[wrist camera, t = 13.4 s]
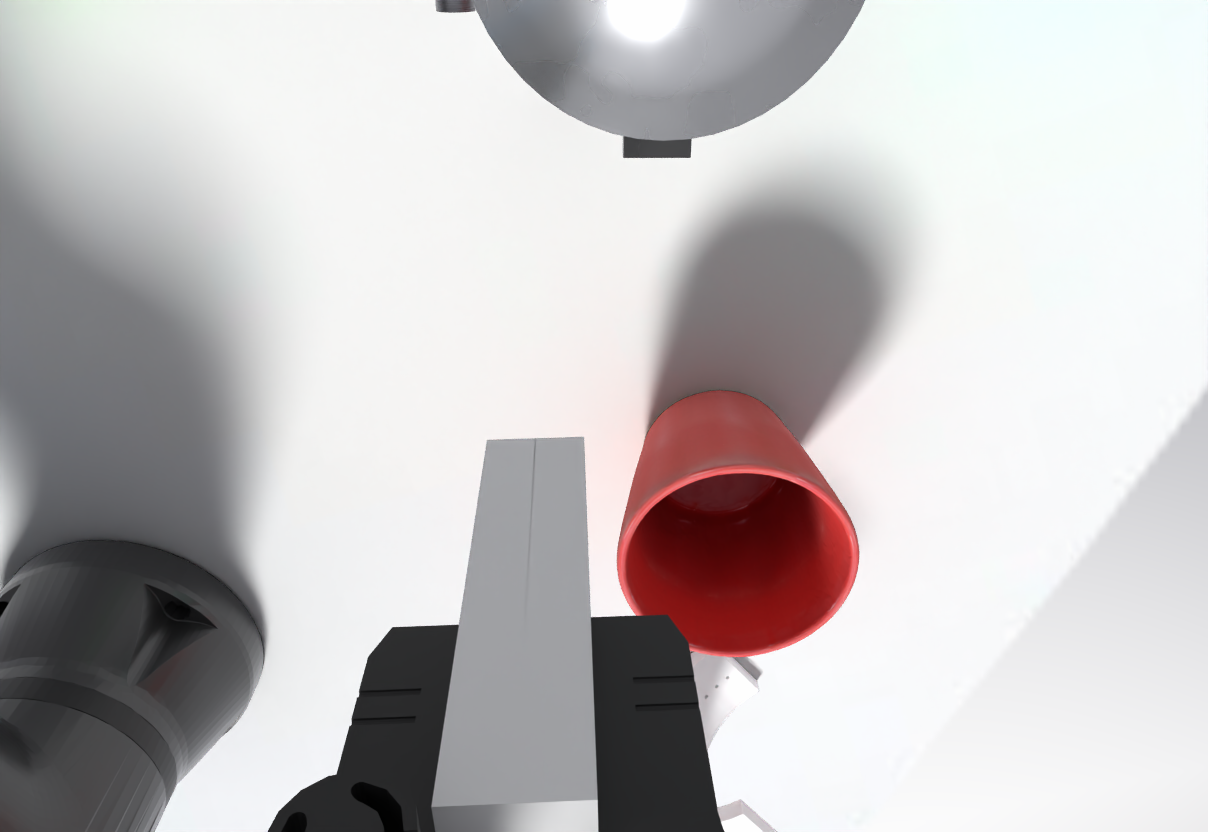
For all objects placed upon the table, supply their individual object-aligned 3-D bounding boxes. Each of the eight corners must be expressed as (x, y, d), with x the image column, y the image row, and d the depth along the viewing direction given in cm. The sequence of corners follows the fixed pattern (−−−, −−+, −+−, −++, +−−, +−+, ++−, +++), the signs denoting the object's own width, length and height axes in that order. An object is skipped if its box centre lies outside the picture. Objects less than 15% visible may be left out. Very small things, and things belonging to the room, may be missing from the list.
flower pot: (631, 547, 51) (638, 675, 42) (597, 378, 45) (597, 486, 37) (818, 520, 50) (864, 645, 41) (806, 345, 44) (855, 447, 36)
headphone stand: (757, 681, 56) (794, 858, 46) (680, 723, 58) (698, 903, 47) (715, 638, 54) (743, 813, 44) (636, 683, 56) (645, 862, 46)
